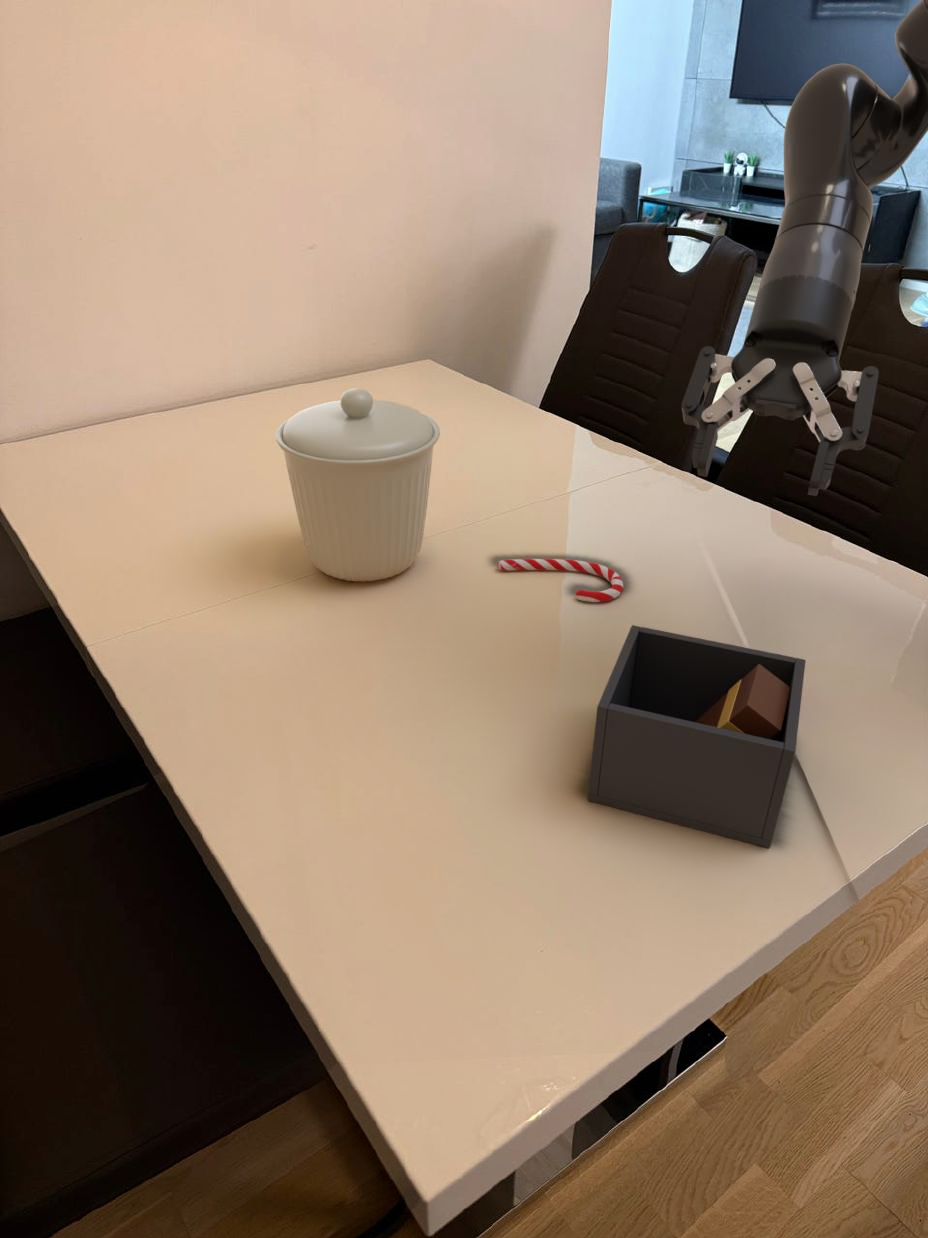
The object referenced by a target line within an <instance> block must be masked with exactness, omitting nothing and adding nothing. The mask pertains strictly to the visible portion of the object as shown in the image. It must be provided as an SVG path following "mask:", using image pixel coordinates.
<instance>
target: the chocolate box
mask: <svg viewBox="0 0 928 1238" xmlns="http://www.w3.org/2000/svg"><path fill="white" fill-rule="evenodd" d="M789 693H790V687H789V686H788V685H786V684H785V683H784V682H782V681H781V680H780V679H778V678H777V677H776V676H774V675H773V674H772V673H771V672H769V671H768V670H767V669H765V668H764V667H763V666H761V665H760V664H758V665H757V666H756V667H755V668H754V669H753V670H752V671H751V672H750V673H748V674H747V675H746V676H745V677H744V678H743V679H742V680H740V681H738V682H737V683H736V684H735V685H734V686H733V687H732V688H731V689H730V690H729V692H727V693H726V694H725V695H724V696H723V697H722V698H721V699H720V700H719V701H718V702H716V703H715V704H714V705H713V706H712V707H711V708H710V709H709V710H708V711H706V712H705V713H704V714H703V715H702V716H701V717H700V718H699V719H698V720H697V721H695V723H700V724H704V725H709V726H713V727H717V728H722V729H726V730H730V731H735V732H739V733H744V734H748V735H752V736H757V737H761V738H766V739H771V738H772V737H774V736H775V735H776V734H777V733H778V732H780V731H781V728H782V723H783V719H784V715H785V710H786V706H787V701H788V697H789Z"/></svg>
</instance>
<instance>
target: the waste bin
mask: <svg viewBox="0 0 928 1238" xmlns="http://www.w3.org/2000/svg"><path fill="white" fill-rule="evenodd" d="M758 664H760V665H761V666H763V667H764V668H765V669H767V670H768V671H769V672H771V673H772V674H773V675H774V676H776V677H777V678H778V679H780V680H781V681H782V682H784V683H785V684H786V685H788V686H789V687H790V693H789V697H788V701H787V706H786V710H785V715H784V719H783V723H782V728H781V731H780V732H778V733H777V734H776V735H775V736H774V737H772V738H771V739H766V738H761V737H757V736H752V735H748V734H744V733H739V732H735V731H730V730H726V729H722V728H717V727H713V726H709V725H704V724H700V723H695V721H697V720H698V719H699V718H700V717H701V716H702V715H703V714H704V713H705V712H706V711H708V710H709V709H710V708H711V707H712V706H713V705H714V704H715V703H716V702H718V701H719V700H720V699H721V698H722V697H723V696H724V695H725V694H726V693H727V692H729V690H730V689H731V688H732V687H733V686H734V685H735V684H736V683H737V682H738V681H740V680H742V679H743V678H744V677H745V676H746V675H747V674H748V673H750V672H751V671H752V670H753V669H754V668H755V667H756V666H757V665H758ZM805 669H806V659H804V658H799V657H794V656H789V655H785V654H779V653H775V652H769V651H765V650H758V649H754V648H749V647H744V646H739V645H734V644H729V643H724V642H719V641H715V640H709V639H704V638H699V637H694V636H690V635H685V634H680V633H674V632H669V631H665V630H660V629H655V628H650V627H645V626H640V625H636V624H635V625H634V624H631V626H630V627H629V631H628V633H627V636H626V638H625V640H624V643H623V645H622V647H621V650H620V652H619V655H618V657H617V659H616V661H615V664H614V666H613V668H612V670H611V674H610V676H609V678H608V680H607V683H606V685H605V687H604V689H603V692H602V695H601V697H600V699H599V702H598V704H597V709H596V717H595V726H594V735H593V743H592V753H591V760H590V761H591V762H590V770H589V771H590V772H589V779H588V780H589V781H588V790H587V791H588V792H587V799H586V800H587V801H588V802H592V803H596V804H600V805H603V806H608V807H611V808H614V809H618V810H623V811H625V812H630V813H634V814H637V815H642V816H645V817H649V818H653V819H657V820H660V821H661V820H662V821H664V822H668V823H672V824H675V825H680V826H682V827H686V828H687V827H688V828H691V829H695V830H699V831H702V832H705V833H711V834H714V835H717V836H721V837H725V838H729V839H733V840H737V841H740V842H744V843H747V844H752V845H756V846H759V847H763V848H767V849H770V848H771V847H772V842H773V839H774V835H775V831H776V828H777V824H778V819H779V816H780V812H781V809H782V804H783V801H784V797H785V792H786V789H787V786H788V781H789V777H790V774H791V770H792V766H793V762H794V758H795V755H796V748H797V742H798V732H799V725H800V724H799V723H800V713H801V705H802V698H803V688H804V679H805V671H806V670H805Z"/></svg>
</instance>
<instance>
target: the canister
mask: <svg viewBox="0 0 928 1238" xmlns="http://www.w3.org/2000/svg"><path fill="white" fill-rule="evenodd" d="M440 435H441V428H440V427H439V425H438V423H437V422H436V421H435V420H434V419H433V418H431V417H429V416H428V415H426V414H424V413H422V412H421V411H419V410H417V409H416V408H414V407H411V406H408V405H406V404H403V403H399V402H395V401H389V400H382V399H374V398H373V396H372V394H371V393H370V392H369V391H368V390H366V389H364V388H360V387H354V388H349V389H347V390H345V391H344V392H343V393H342V394H341V397H340V400H333V401H327V402H323V403H319V404H315V405H312V406H309V407H307V408H303V409H302V410H300V411H299V412H296V413H295V414H293V416H292V417H290V418H288V419H286V420H285V421H284V422H282V423H281V424H280V425H279V426H278V428H277V429H276V431H275V442H276V443H277V445H278V447H279V448H280V449H281V450H282V451H283V454H284V459H285V460H284V461H285V464H286V469H287V473H288V479H289V483H290V488H291V492H292V499H293V502H294V506H295V511H296V516H297V519H298V524H299V528H300V531H301V536H302V539H303V544H304V547H305V550H306V553H307V555H308V557H309V559H310V560H311V562H312V563H313V565H314V566H315V567H316V568H317V569H318V570H319V571H320V572H321V573H324V574H326V575H327V576H331V577H332V578H335V579H339V580H343V581H344V580H345V581H347V582H350V581H351V582H373V581H380V580H386V579H388V578H393V577H394V576H396V575H400V574H401V573H402V572H405V571H406V570H407V569H408V568H410V567H412V565H413V564H414V562H415V561H416V560H417V558H418V556H419V554H420V552H421V549H422V545H423V539H424V535H425V527H426V519H427V509H428V501H429V492H430V485H431V484H430V483H431V474H432V464H433V454H434V446H435V445H436V444H437V443H438V441H439V438H440Z"/></svg>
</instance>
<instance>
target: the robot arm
mask: <svg viewBox="0 0 928 1238" xmlns="http://www.w3.org/2000/svg"><path fill="white" fill-rule="evenodd" d="M894 43H895V48H896V50H897V53H898V55H899V57H900V59H901V61H902V63H903V65H904V66H905V68H906V70H907V71H908V75H907V78H906V79H905V80H904V81H905V82H904V84H903V85H902V87H901V89H899V91H898V92H897V94H896V95H895V96H893V98H891V97H890V96H889V95H888V94H887V93H886V92H885V91H884V90H883V89H882V88H881V87H880V86H879V85H878V84H877V83H876V82H875V81H874V80H873V79H872V78H871V77H870V76H869V75H867V73H866V72H865V71H863V70H862V69H860V68H859V67H858V66H855V65H853V64H849V63H835V64H831V65H829V66H825V67H824V68H821V69H820V70H818V71H817V72H816V73H814V75H812V76H811V77H810V78H809V79H807V81H806V82H805V83H804V85H803V86H802V88H801V89H800V90H799V92H798V93H797V95H796V97H795V98H794V100H793V102H792V104H791V107H790V109H789V112H788V115H787V118H786V122H785V128H784V134H783V192H784V207H783V211H782V214H781V217H780V222H779V224H778V228H777V232H776V235H775V239H774V244H773V247H772V249H771V251H770V254H769V256H768V258H767V261H766V263H765V264H764V265H765V266H764V269H763V272H762V276H761V279H760V282H759V287H758V290H757V293H756V297H755V301H754V304H753V308H752V312H751V315H750V319H749V322H748V326H747V330H746V334H745V337H744V340H743V344H742V347H741V349H740V350H739V352H737V354H736V355H734V356H728V355H725V354H718V353H716V351H715V348H714V347H712V346H710V345H707V346H706V345H705V346H703V347H702V348H701V349H700V351H699V354H698V356H697V359H696V362H695V365H694V367H693V370H692V374H691V376H690V379H689V382H688V385H687V387H686V390H685V393H684V395H683V398H682V401H681V403H680V404H681V412H682V419H683V423H684V424H685V425H688V426H694V427H696V428H697V429H698V430H697V433H696V438H695V441H694V444H693V448H692V452H691V459H692V465H693V468H694V469H696V472H697V476H699V477H705V478H707V477H708V475H709V471H710V469H711V468H710V467H711V464H712V461H713V458H714V457H713V456H714V453H715V449H716V446H717V442H718V439H719V435H718V433H719V432H720V431H721V430H722V429H723V428H724V427H726V426H727V425H729V424H730V423H731V422H735V421H737V420H739V419H740V418H742V417H743V416H744V415H745V414H747V413H748V412H750V411H752V412H754V415H755V416H761V417H771V416H772V417H773V416H776V417H778V418H780V419H783V420H789V421H795V420H796V419H798V418H802V417H803V419H804V420H805V422H806V424H807V426H808V428H809V430H810V431H811V432H812V434H814V435H815V437H816V438H817V439H816V440H818V442H819V445H818V448H817V452H816V455H815V460H814V464H813V468H812V471H811V477H810V479H809V483H808V490H807V495H808V496H809V495H810V496H814V497H817V496H818V493H819V490H823V491H826V490H827V488H828V487H829V486H830V485H831V479H832V476H833V472H834V468H835V464H836V460H837V457H838V454H840V453H841V452H843V451H845V450H854V451H861V450H863V449H864V448H865V447H866V443H867V439H868V436H869V433H870V428H871V423H872V422H871V421H872V417H873V412H874V411H873V409H874V405H875V398H876V394H877V393H876V392H877V387H878V380H879V375H880V374H879V373H880V371H879V369H878V367H876V366H874V365H869V366H865V367H864V368H863V369H862V371H857V370H856V371H855V370H842V368H841V365H840V359H841V354H842V351H843V347H844V343H845V340H846V335H847V331H848V327H849V323H850V319H851V316H852V315H851V314H852V311H853V309H854V307H855V304H856V300H857V297H856V296H857V293H858V292H857V291H858V288H859V283H860V278H861V277H860V276H861V269H862V268H861V265H862V260H863V253H864V250H865V246H866V242H867V238H868V234H869V230H870V226H871V223H872V218H873V213H874V197H873V194H872V191H871V188H874V187H876V186H878V185H880V184H882V183H883V182H886V181H887V180H888V179H890V178H891V177H892V176H893V175H894V174H895V173H896V172H897V171H898V170H899V169H901V167H902V166H903V165H904V164H905V163H906V161H907V160H908V159H909V157H910V156H911V155H912V154H913V152H914V151H915V149H916V148H917V147H918V146H919V144H920V142H921V141H922V140H923V138H924V137H925V136H926V134H927V133H928V0H920V1H919V2H918V3H917V4H916V5H915V6H914V7H913V8H912V9H911V10H910V11H909V12H908V14H906V15H905V17H904V18H903V19H902V21H900V23H899V24H898V26H897V28H896V30H895V34H894ZM727 373H731V377H732V379H733V381H734V383H733V384H732V385H731V386H730V387H728V388H727V389H726V390H724V391H723V393H722V395H721V396H720V397H719V398H718V399H717V400H716V401H714V402H713V403H712V404H710V405H709V406H708V407H705V406H704V403H705V401H706V398H707V395H708V393H709V390H710V387H711V383H712V384H715V383H717V382H719V381H720V380H721V379H722V376H724V375H726V374H727ZM839 387H840V388H843V389H844V390H845V392H846V397H847V399H848V400H849V401H852V402H855V406H854V411H853V412H854V413H853V417H852V423H851V426H845V427H841V426H840V425H839V423H838V421H837V419H836V418H835V415H834V414H833V413H832V409H831V405H830V403H829V401H828V399H827V398H828V397H830V396H831V395H832V394H833V393H835V392H836V391H837V390H838V389H839Z"/></svg>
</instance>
